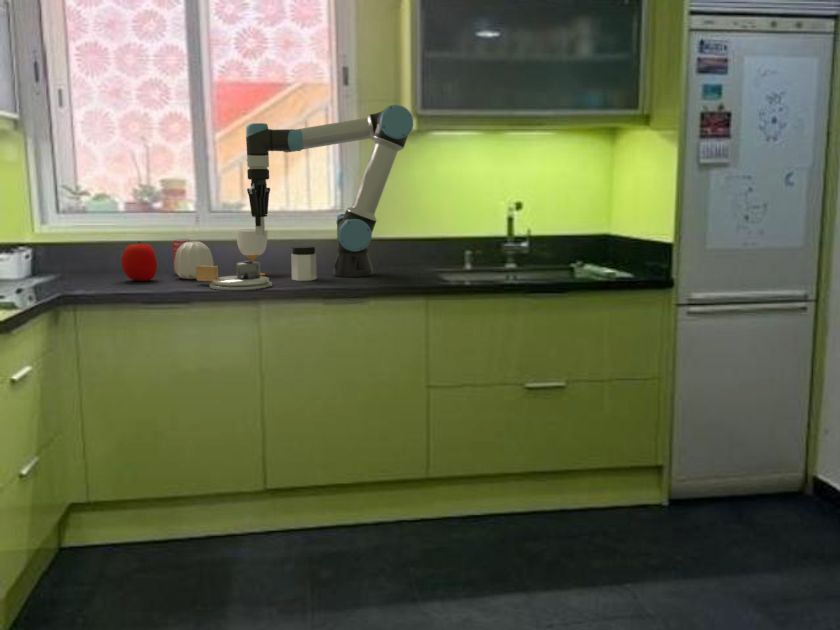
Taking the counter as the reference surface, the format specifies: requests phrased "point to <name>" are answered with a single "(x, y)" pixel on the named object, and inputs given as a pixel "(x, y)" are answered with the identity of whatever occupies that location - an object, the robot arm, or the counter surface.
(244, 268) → the grey stone pot
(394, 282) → the counter surface
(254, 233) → the cup
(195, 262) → the vase
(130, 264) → the tomato
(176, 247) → the soda can
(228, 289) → the base
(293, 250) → the jar
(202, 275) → the turntable
